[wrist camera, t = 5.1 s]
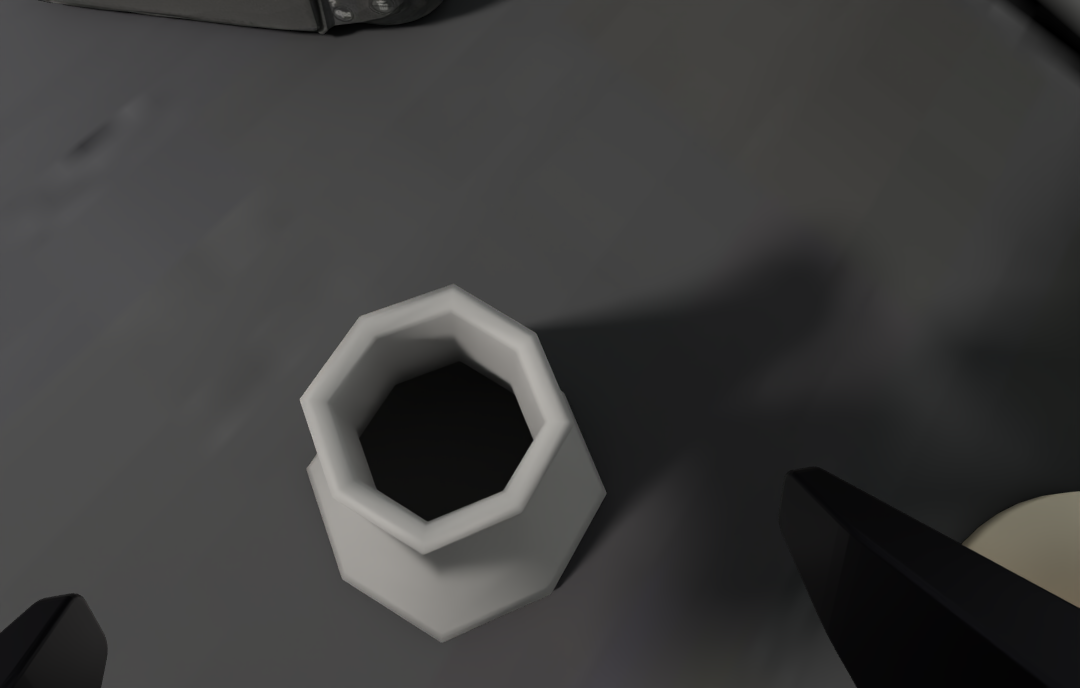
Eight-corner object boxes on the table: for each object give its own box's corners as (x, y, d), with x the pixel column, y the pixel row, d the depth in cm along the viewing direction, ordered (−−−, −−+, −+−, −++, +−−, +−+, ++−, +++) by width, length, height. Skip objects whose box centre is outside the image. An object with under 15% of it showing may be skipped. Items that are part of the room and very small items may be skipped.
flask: (477, 297, 20) (478, 59, 10) (652, 498, 19) (840, 445, 9) (258, 465, 18) (4, 373, 8) (436, 699, 17) (382, 902, 7)
